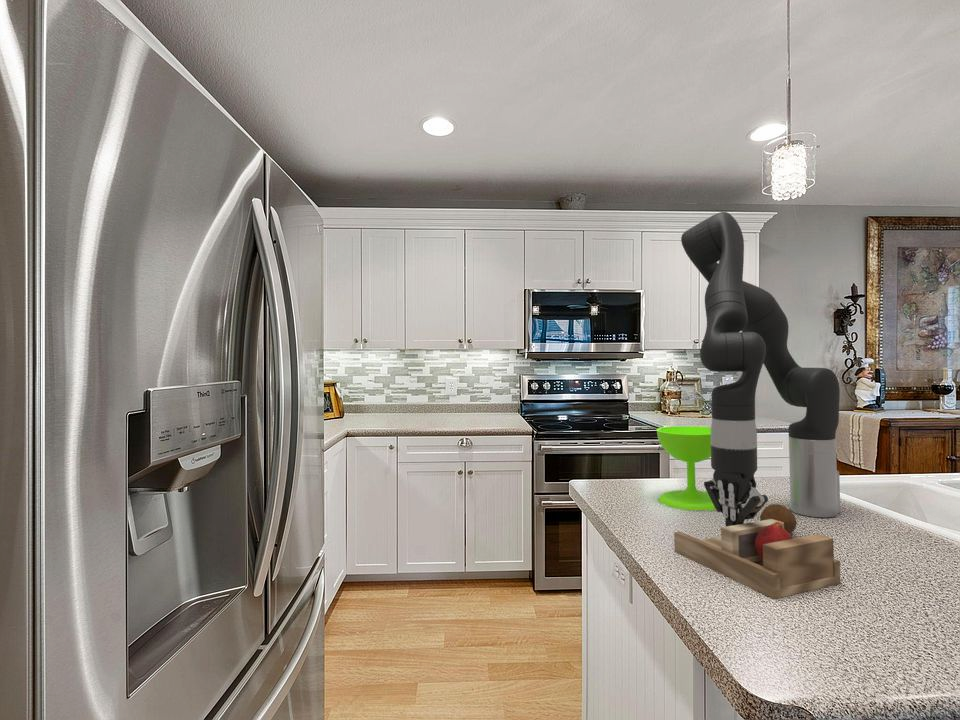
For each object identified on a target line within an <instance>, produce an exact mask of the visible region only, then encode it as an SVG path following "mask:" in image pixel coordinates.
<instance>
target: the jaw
mask: <svg viewBox="0 0 960 720" xmlns="http://www.w3.org/2000/svg"><path fill="white" fill-rule="evenodd" d="M776 521H777V520H774V519H768V520H762V521H760V520H759V521H750V522H746V523H745V522H744V524H739V525H733V526H727V527H726V526H722V527H720V537H721V549H722V550H725V551H727V552H730V553H732V554H734V555H737V556H739V557H741V558H744V559H746V560H748V561H751V562H758V561H763V559H762V558H761V557H760V556H759V555H758V553H757V551H756V549H755V539H756V537H757V535H758V533H759V531H760V530H761V529H763V528H764V527H766V526H768V525H771V524H773V523H774V522H776ZM781 523H782V528H784V523H783V522H781Z"/></svg>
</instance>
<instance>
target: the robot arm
mask: <svg viewBox="0 0 960 720" xmlns="http://www.w3.org/2000/svg"><path fill="white" fill-rule="evenodd" d="M680 242H681V246H682V247H683V250H684V252H685V253H686V255H687V257H688V258H689V260H690V261H691V262H692V264H693V266H694V267H695V268H696V269H697V270H698V271H699V273H700V274H701V275H702V276H703V278H704V279H705V281H707V283H708V285H707V286H706V290H705V293H704V308H705V316H706V317H705V318H706V328H705V333H704V336H703V340H702V343H701V346H700V347H701V348H700V352H699V357H700V361H701V364H702V365H703V367H704V368H705V369H706V370H708V371H710V372H714V373H715V372H717V373H724V372H726V373H727V372H730V373H733V372H736V373H737V372H741V376H740V377H739V378H738V380H737V381H735V382H731V383H728V384H727V383H726V384H721V385H718V386H715V387H714V388H713V389H712V391H711V424H710V428H711V457H710V466H711V469H712V470H714V472H713V474H712V477H713V478H711V479H710V480H708V481H704V482H703V487H704V488H705V490H706V492H707V493H708V494H709V496H710V498H711V501H712V503H713V505H714V507H715V509H716V510H715V511H716V512H717V513H722V515H723V517H724V519H725V527H727V526H733V525H739V524H745V521H747V520H753V519H754V518H755V517H756V516H757V515H758V513H759V512H760V511H761V510H762V508H763V507H764V506H765V505H766V504H767V502H768V501H769V497H768V495H766V494H761V492H760V491H759V489H757V482H756V480H755V479H756V478H755V474H756V472H757V470H758V431H757V426H756V391H757V387H758V382H759V378H760V374H761V372H762V367H763V365H764V367H765V370H766V371H767V373H768V375H769V377H770V378H771V381H772V383H773V384H774V387H775V388H776V390H777V393H778V394H779V396H780V397H781V398H782V400H783V401H785V403H787V404H788V405H789V406H793V407H798V408H799V407H800V408H806V409H805V411H806V413H805V416H804V418H803V419H801V420H799V421H796V422H792V423H791V424H789V425H788V429H787V430H788V454H789V455H788V458H789V459H788V460H789V461H788V462H789V463H788V464H789V489H790V490H789V496H790V497H789V498H790V501H789V502H790V511H791V512H792V513H795V514H799V515H801V516H807V517H813V518H833V517H836V516H838V515H839V513H841V489H840V487H841V485H840V479H841V478H840V471H839V470H837V466H838V465H837V441H836V440H837V439H836V438H837V437H836V433H837V431H838V430H837V429H838V426H839V423H840V422H839V419H840V400H841V398H840V395H841V394H840V391H841V390H840V382H839V379H838V376H837V374H836V373H835V372H834V371H833V370H831V369H829V368H826V367H801V366H800V365H799V364H798V363H797V361H796V360H795V359H794V358H793V356H792V354H791V353H790V351H789V349H788V340H789V339H788V338H789V321H788V318H787V316H786V314H785V312H784V311H783V309H782V307H781V306H780V304H779V303H778V302H777V300H776V298H775V297H774V295H772V293H770V292H769V291H767V290H765V289H764V288H761V287H759V286H757V285H755V284H753V283H749V282H747V281H744V280H743V279H744V278H743V277H744V275H743V274H744V265H745V264H744V261H745V260H744V259H745V258H744V256H745V240H744V236H743V232H742V228H741V227H740V225H739V223H738V221H737V220H736V219H735V218H734V216H733V215H732V214H730V213H729V212H727V211H720V212H718V213H715V214H713V215H712V216H709V217H708V218H706V219H705V220H703V221H701V222H699V223H697V224H695V225H694V226H692V227H690V228H689V229H687V230H685V231H684V232H683V233H682V234H681V236H680ZM718 499H719V500H720V502H719V500H718ZM721 504H722V505H721Z"/></svg>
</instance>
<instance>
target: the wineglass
mask: <svg viewBox="0 0 960 720" xmlns="http://www.w3.org/2000/svg"><path fill="white" fill-rule="evenodd" d="M656 434H657V439H658V441H659V444H660V446H661V447H662V448H663V449H664V451H665V452H666V453H667V455H670V456H671V457H673V458H674V459H676V460H678V461H681V462H684V463H686V476H687V477H686V479H687V480H686V481H687V482H686V483H687V484H686V485H687V487H686V488H685V489H683V490H671V491H667V492H666V491H665V492H664V493H662V494H661V495H660V496H659V498H658V502H659V501H660V502H661V503H660V502H659V503H660V504H662V503H663V504H665V505H664V506H666V505H667V506H666V507H669V506H670V507H669V508H673V507H674V508H673V509H677V508H679V510H684V509H685V510H686V511H695V510H708V511H714V510H715V507H714V505H713V503H712V501H711V498H710V496H709V494H708V492H707V491H701V490H698V489H697V487H696V463H699V462H703V461H707V460H708V459H711V426H710V427H708V426H695V425H693V426H692V425H691V426H689V425H685V426H684V425H683V426H682V425H680V426H679V425H678V426H676V425H675V426H665V427H659V428H657V429H656ZM718 500H719V499H718ZM719 502H720V500H719ZM663 504H662V505H663ZM721 505H722V504H721ZM715 511H716V510H715Z"/></svg>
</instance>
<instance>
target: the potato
mask: <svg viewBox="0 0 960 720" xmlns="http://www.w3.org/2000/svg"><path fill="white" fill-rule="evenodd" d="M768 519H774V520H777V521H781V522H783V523H784V529H785V530H786V531H787V532H788V533H789V534H790V535H791V534H792V533H793V532H794V531H795V529H796V527H797V525H798V521H797V518H796V516H795V514H794V512H793V511H791V509H789V508H788V507H787V506H785V505H783V504H779V503H776V504H775V503H774V504H772V503H771V504H769V505H768V506H766V507H764V508H763V510H762V512H761V513H760V516H759V521H762V520H768Z"/></svg>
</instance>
